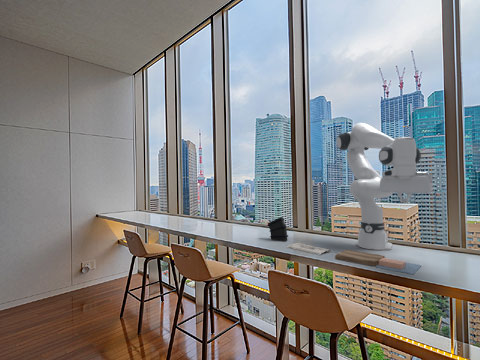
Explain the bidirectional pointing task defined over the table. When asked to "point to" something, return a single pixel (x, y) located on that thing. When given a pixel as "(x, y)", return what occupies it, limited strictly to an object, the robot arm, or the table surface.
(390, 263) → the salmon pink block
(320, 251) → the newspaper
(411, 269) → the mat
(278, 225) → the black folded cloth
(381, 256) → the deck
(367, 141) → the robot arm
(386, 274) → the table surface
